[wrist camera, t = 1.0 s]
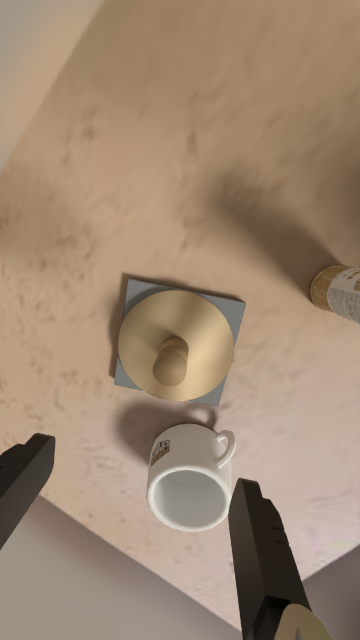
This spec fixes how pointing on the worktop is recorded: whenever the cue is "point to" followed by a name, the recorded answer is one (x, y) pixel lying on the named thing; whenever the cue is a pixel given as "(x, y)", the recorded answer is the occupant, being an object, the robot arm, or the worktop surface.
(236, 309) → the mat
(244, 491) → the robot arm
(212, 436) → the mug
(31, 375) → the worktop surface
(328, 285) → the sprinkles bottle
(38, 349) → the worktop surface
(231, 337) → the lid
